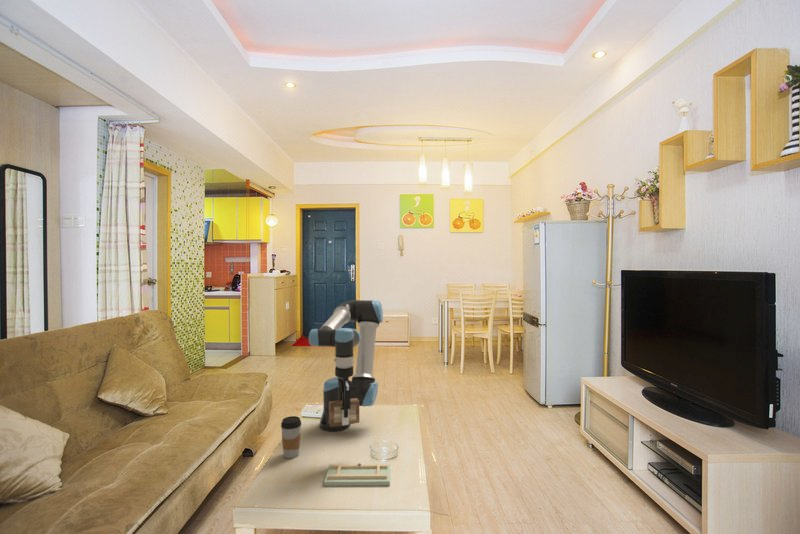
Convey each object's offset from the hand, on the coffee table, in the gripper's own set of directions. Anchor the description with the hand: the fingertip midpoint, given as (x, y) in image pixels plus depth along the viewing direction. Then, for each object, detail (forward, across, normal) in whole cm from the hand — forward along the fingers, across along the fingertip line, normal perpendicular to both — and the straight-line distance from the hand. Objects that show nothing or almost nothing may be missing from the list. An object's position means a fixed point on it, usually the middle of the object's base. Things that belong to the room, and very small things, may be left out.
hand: (344, 422), depth 161 cm
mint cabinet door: (+15, +15, +2) cm, 22 cm away
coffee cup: (+15, -11, -20) cm, 28 cm away
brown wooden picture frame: (0, 0, 0) cm, 0 cm away
